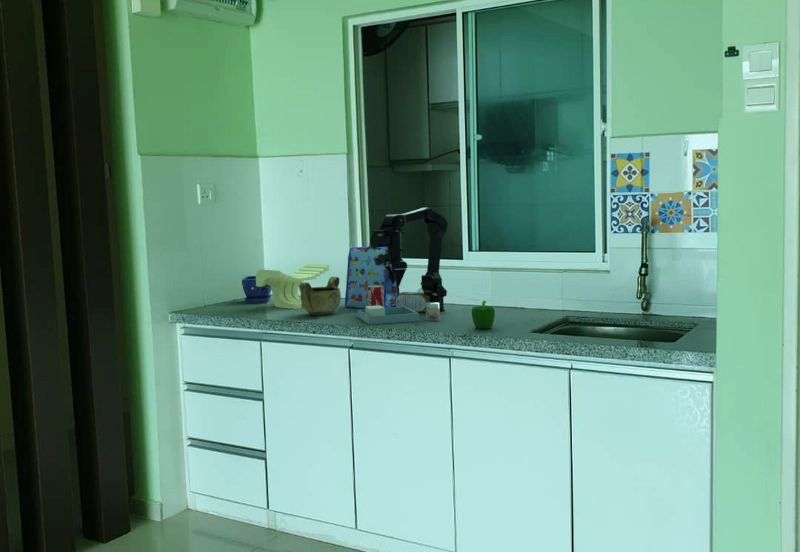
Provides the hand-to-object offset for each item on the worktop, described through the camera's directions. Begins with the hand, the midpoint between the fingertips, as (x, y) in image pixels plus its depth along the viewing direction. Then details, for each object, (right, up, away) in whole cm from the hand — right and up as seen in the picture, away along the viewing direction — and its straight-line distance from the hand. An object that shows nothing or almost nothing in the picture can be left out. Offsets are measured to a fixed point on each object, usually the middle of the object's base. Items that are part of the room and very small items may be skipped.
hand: (395, 284), depth 332 cm
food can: (+15, -14, -10) cm, 22 cm away
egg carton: (-8, -14, -6) cm, 17 cm away
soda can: (-8, -13, +10) cm, 18 cm away
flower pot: (-65, -9, +61) cm, 90 cm away
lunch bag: (-10, -10, +33) cm, 36 cm away
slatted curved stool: (-46, -10, +43) cm, 64 cm away
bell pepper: (+33, -16, -30) cm, 47 cm away
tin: (+7, -12, +15) cm, 20 cm away
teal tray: (-3, -14, -5) cm, 15 cm away
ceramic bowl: (-31, -13, +14) cm, 37 cm away
